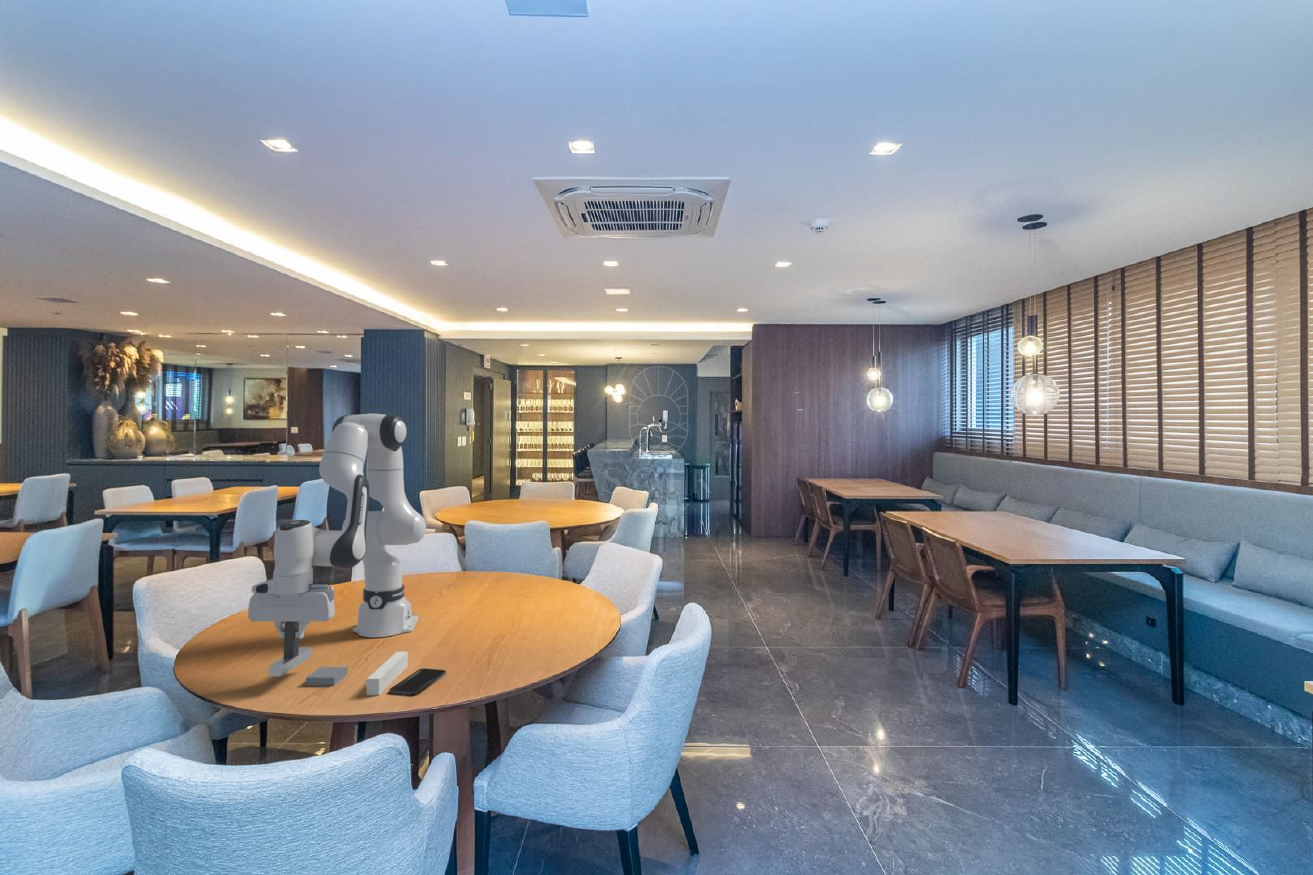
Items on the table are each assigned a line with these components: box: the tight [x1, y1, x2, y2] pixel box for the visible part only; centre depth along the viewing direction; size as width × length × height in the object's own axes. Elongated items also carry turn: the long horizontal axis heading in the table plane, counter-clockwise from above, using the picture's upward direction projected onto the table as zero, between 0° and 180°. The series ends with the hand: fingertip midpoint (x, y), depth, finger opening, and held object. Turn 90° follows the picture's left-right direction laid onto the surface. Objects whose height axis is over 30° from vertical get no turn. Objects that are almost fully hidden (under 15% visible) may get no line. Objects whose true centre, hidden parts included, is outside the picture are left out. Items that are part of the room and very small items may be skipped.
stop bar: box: [366, 651, 409, 696], centre depth 155 cm, size 19×3×4 cm, turn 3°
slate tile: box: [305, 666, 349, 687], centre depth 154 cm, size 7×7×2 cm
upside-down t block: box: [268, 622, 312, 677], centre depth 154 cm, size 14×3×12 cm, turn 3°
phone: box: [388, 667, 447, 697], centre depth 154 cm, size 8×1×15 cm
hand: (291, 638), depth 154 cm, fingers closed on upside-down t block, 2 cm apart
